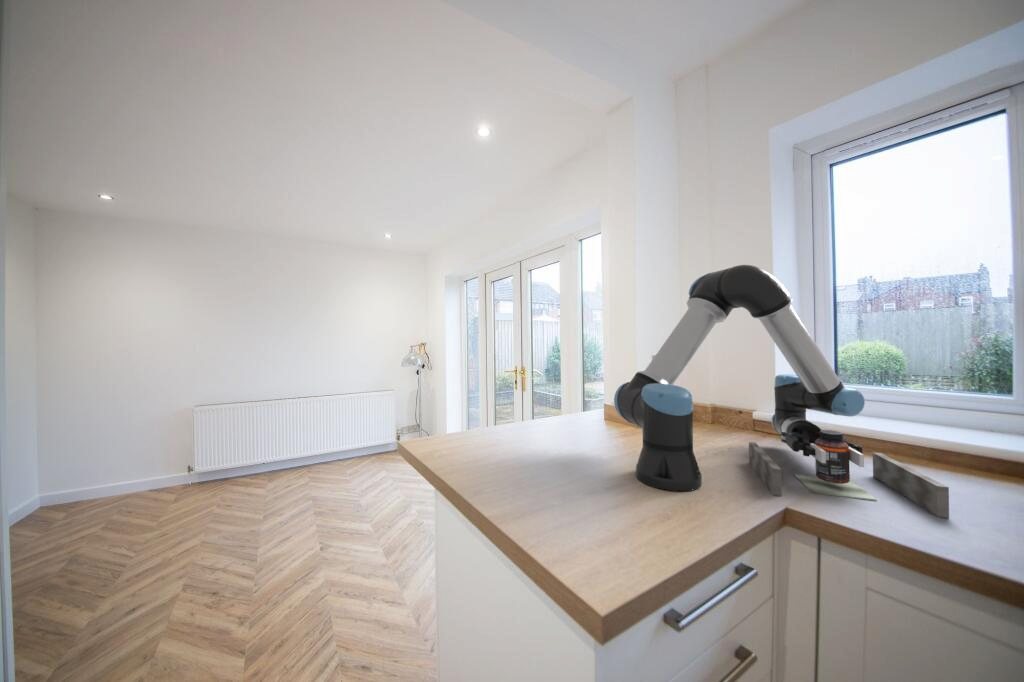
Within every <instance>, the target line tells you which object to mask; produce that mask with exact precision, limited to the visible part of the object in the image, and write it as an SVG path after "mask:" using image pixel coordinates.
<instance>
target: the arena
mask: <svg viewBox="0 0 1024 682" xmlns="http://www.w3.org/2000/svg"><path fill="white" fill-rule="evenodd" d="M748 464H749V465H750V466H751V468H752V470H754V472H755V473H756V475H757V476H758V477H759V478H760V480H761V481H762V483H764V484H763V485H765V487H767V489H768V491H769V492H770V493H771V495H772V496H778V497H782V494H783V493H782V492H783V491H782V468H781V467H780V466H778V464H777V463H776V462H775V461H774V460H773V459H772V458H771V457H770V456H769V455H768V454H767V453H766V452H765V450H763V448H761V447H760V446H759V444H758V443H757V442H754V441H753V442H751V441H748ZM794 476H795V477H796V479H798V480H799V482H801V483H802V484H803V486H805V487H806V488H807V489H808V491H810V492H811V493H812V494H818V495H827V496H834V497H835V496H836V497H842V498H843V497H844V498H848V499H849V498H851V499H857V500H858V499H859V500H865V501H866V500H867V501H875V502H877V500H878V499H877V498H875V497H874V496H873V495H871V494H870V493H868V492H867V491H866V490H865V489H863V488H861V487H860V486H859V485H858V484H856V483H854V482H853V481H852V480H850V481H849V482H848V483H844V484H838V483H832V482H827V481H824V480H822V479H819V478H818V477H817V476H814V475H813V476H812V475H805V474H804V475H803V474H794ZM872 476H873V477H874V478H875V479H877V480H878V481H880V482H882V483H883V484H885V485H887V486H888V487H890V488H891V489H892V490H894V491H896V492H897V493H899V494H901V496H902V495H903V496H904V497H905V496H906V498H907V497H908V498H907V499H909V500H910V501H911V502H913V501H914V503H915V504H917V505H918V504H919V505H918V506H919V507H921V506H922V507H921V508H923V509H924V508H925V510H926V511H928V512H930V514H933V515H934V516H936V518H937V517H938V518H945V519H950V494H949V493H950V492H949V491H950V490H949V487H948V486H947V485H945V484H943V483H941V482H939V481H937V480H935V479H933V478H931V477H929V476H927V475H925V474H923V473H921V472H919V471H917V470H915V469H913V468H911V467H909V466H908V465H905V464H903V463H901V462H900V461H898V460H895V459H893V458H892V457H889V456H888V455H886V454H884V453H881V452H872Z"/></svg>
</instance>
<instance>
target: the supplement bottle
mask: <svg viewBox="0 0 1024 682" xmlns="http://www.w3.org/2000/svg"><path fill="white" fill-rule="evenodd" d="M843 435H844V434H843V432H841V431H837V430H831V429H821V431H820V437H819V438H818V439H817V440H816V441H815V445H817V446H818V447H820V448H821V449H823V450H824V451H826V463H821V462H820V461H818V460H817V459H816V458H814V459H815V460H814V461H815V463H814V464H815V477H818V478H819V479H822V480H824V481H827V482H832V483H838V484H844V483H848V482H849V481H851V480H850V479H851V478H850V473H851V472H850V460H849V446H848V444H847V443H845V442H844V441H843V440H842V439H843V437H844V436H843Z"/></svg>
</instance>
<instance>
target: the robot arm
mask: <svg viewBox="0 0 1024 682" xmlns="http://www.w3.org/2000/svg"><path fill="white" fill-rule="evenodd" d="M688 295H689V296H688V299H687V301H686V305H687V308H688V309H687V310H686V312H685V313H684V315H683V316H682V317H681V319H680V320H679V322H677V324H676V326H675V327H674V329H672V332H671V333H670V335H669V336H668V337H667V339H666V340H665V341H664V343H663V344H662V346H661V347H660V348H659V350H658V351H657V353H656V354H655V356H654V357H653V358H652V359H651V361H650V363H649V364H648V365H647V367H646V368H645V370H641V371H637V372H636V373H635V375H634V376H633V377H632V378H631V380H630V381H628V382H625V383H623V384H621V385H620V386H618V388H617V389H616V391H615V393H614V397H613V403H614V408H615V411H616V412H617V414H618V415H619V416H620V417H621V418H622V419H624V420H625V421H627V422H628V423H630V424H633V425H636V426H638V427H640V428H642V447H641V451H640V454H639V455H638V456H639V457H638V459H637V463H636V466H635V477H636V479H638V481H640V482H641V481H642V483H643V482H644V483H643V484H645V483H646V484H645V485H647V484H648V485H647V486H650V485H651V486H650V487H652V486H654V487H653V488H656V487H657V488H656V489H660V488H661V489H660V490H664V489H667V490H666V491H671V490H677V491H676V492H682V491H681V490H690V491H693V490H692V489H695V490H697V489H696V488H698V487H699V488H701V487H702V485H701V484H702V472H701V470H700V468H699V464H698V461H697V459H696V455H695V453H694V415H693V414H694V404H693V403H694V402H693V396H692V394H691V391H690V390H688V389H686V388H685V387H682V386H679V385H674V384H675V383H676V381H677V380H678V378H679V377H680V375H681V374H682V372H683V371H684V370H685V368H686V367H687V365H689V363H690V361H691V360H692V358H693V357H694V355H695V354H696V353H697V351H698V350H699V348H700V347H701V346H702V344H703V342H704V341H705V340H706V338H707V336H708V335H709V334H710V333H711V332H712V329H713V328H714V326H715V325H716V324H718V323H719V324H720V323H723V322H724V321H725V320H726V319H727V317H729V315H730V314H731V312H732V311H733V310H734V309H737V308H738V309H740V308H743V309H745V310H747V312H748V313H749V314H750V316H751V317H752V318H753V319H758V320H759V322H761V324H762V326H763V327H764V329H765V330H766V331H767V333H768V335H769V336H770V337H771V339H772V341H773V343H775V345H776V346H777V348H778V349H779V351H780V352H781V354H782V355H783V357H784V358H785V360H786V362H787V363H788V364H789V366H790V367H791V369H792V370H793V372H794V373H795V374H778V375H776V376H775V378H774V387H773V388H774V414H773V415H772V416H771V420H770V422H771V425H772V427H773V428H774V430H775V431H776V432H777V433H778V434H780V436H781V437H780V438H781V442H782V443H784V444H786V445H787V446H788V447H789V448H790V449H791V450H792V451H794V452H796V453H797V452H799V453H800V451H802V456H803V457H810V456H812V457H813V458H814V459H815V458H816V459H817V460H818V461H820V462H821V463H826V451H824V450H823V449H821V448H820V447H818V446H817V445H815V441H816V440H817V439H818V438H819V437H820V431H821V430H822V429H821V428H820V427H819V426H818V425H816V424H814V423H813V422H811V421H810V420H808V419H807V410H811V411H816V412H817V411H818V412H821V413H825V414H829V415H830V414H832V415H834V416H843V417H848V418H849V417H856V416H857V415H859V414H861V412H863V410H864V408H865V396H864V395H863V394H862V393H861V391H859V390H858V389H855V388H851V387H849V386H848V387H845V386H844V385H843V382H842V381H841V380H840V378H839V377H838V375H837V374H836V372H835V370H834V369H833V367H832V366H831V364H830V363H829V361H828V360H827V359H826V357H825V356H824V354H823V352H822V351H821V349H820V348H819V346H818V345H817V343H816V342H815V341H814V339H813V337H812V335H811V334H810V333H809V331H808V330H807V328H806V326H805V324H804V323H803V322H802V320H801V319H800V317H799V316H798V314H797V313H796V311H795V310H794V308H793V306H792V302H793V298H792V296H791V294H790V293H789V291H788V290H787V289H786V288H785V286H784V284H783V283H781V282H780V281H779V280H778V279H777V278H776V277H775V276H774V275H772V274H771V273H770V272H768V271H766V270H764V269H763V268H761V267H758V266H756V265H751V264H739V265H736V266H732V267H729V268H725V269H721V270H717V271H713V272H709V273H706V274H704V275H702V276H700V277H698V278H697V279H695V280H694V282H693V283H692V284H691V285H690V288H689V290H688ZM842 440H843V441H844V442H845V443H847V444H848V446H849V462H851V463H853V464H855V465H856V466H858V467H859V468H860V467H861V468H865V455H864V453H863V446H862V445H860V444H858V443H856V442H852V441H850V440H848V439H847V438H846V437H844V436H843V439H842ZM699 488H698V489H699ZM678 490H680V491H678Z"/></svg>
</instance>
